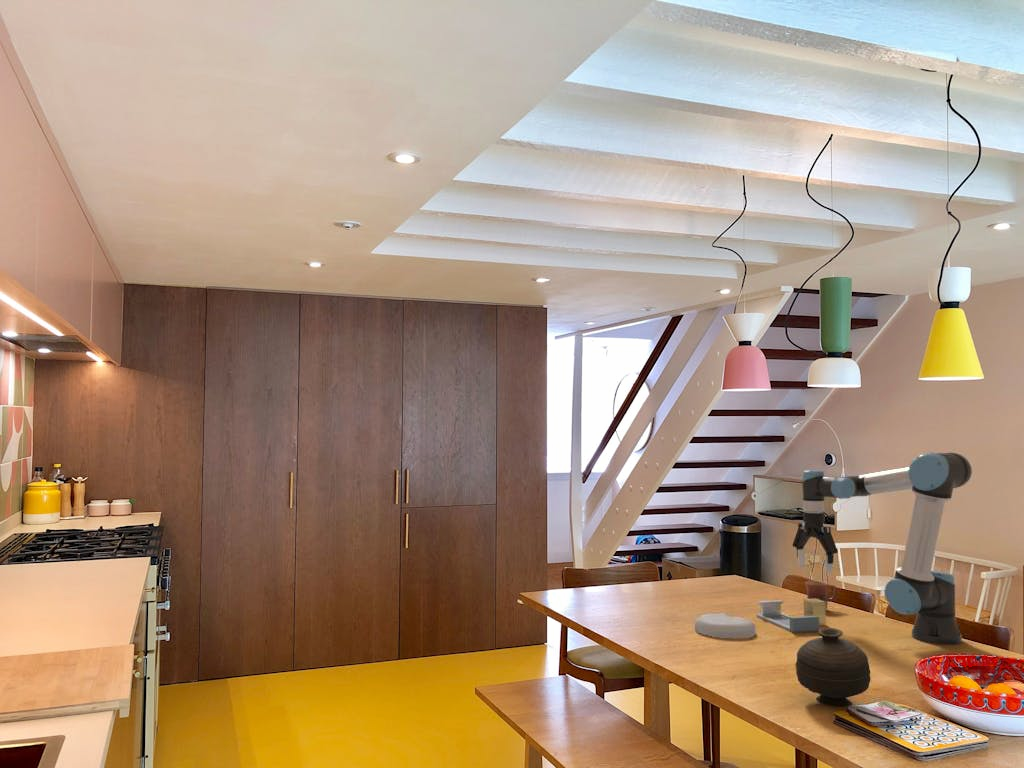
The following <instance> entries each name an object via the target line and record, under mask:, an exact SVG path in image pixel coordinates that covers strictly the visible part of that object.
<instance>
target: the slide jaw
mask: <svg viewBox="0 0 1024 768" xmlns="http://www.w3.org/2000/svg"><path fill="white" fill-rule="evenodd" d="M757 604H758V605H760V614H761V615H763V616H781V613H782V604H784V601H783V600H781V599H777V600H776V599H775V600H758V601H757Z"/></svg>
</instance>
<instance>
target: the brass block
mask: <svg viewBox="0 0 1024 768" xmlns="http://www.w3.org/2000/svg"><path fill="white" fill-rule="evenodd" d="M826 611H827V609H826V602H825V601H822V600H819V599H816V598H815V599H807V598H804V599H803V616H818V617H819V626H826V625H827V615H826V614H827V612H826Z"/></svg>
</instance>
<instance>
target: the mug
mask: <svg viewBox="0 0 1024 768" xmlns="http://www.w3.org/2000/svg"><path fill="white" fill-rule="evenodd" d="M804 583H805V586H806V593H807V597H806V599H815V598H816V599H819V600H822V601H825V602H826V610H827V609H828V603H829V602H831V601H832V602H833V601H834V600H835V599H836V598H837V596H838V595H837V594H838V588H837V587H836V585H833V584H829V583H828V582H826V581H821V580H820V581H817V580H808V581H805V582H804ZM831 588H833V589H834V590H833V591H834V593H833V596H832V597H828V590H829V589H831Z"/></svg>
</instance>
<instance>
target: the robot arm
mask: <svg viewBox="0 0 1024 768" xmlns="http://www.w3.org/2000/svg"><path fill="white" fill-rule="evenodd" d="M972 472H973V469H972V465H971V463H970V462H969V460H968V459H967V458H966V457H965V456H964V455H962V454H959V453H956V452H928V453H922V454H920V455H918V456H917V457H915V458H914V459H913V460H912V461H911V462H910V464H909V466H908V467H901V468H895V469H890V470H884V471H879V472H872V473H867V474H866V473H865V474H861V475H854V476H853V475H852V476H826V475H825V474H824V473H825V472H824V471H823V470H819V469H817V470H816V469H815V470H814V469H813V470H811V469H810V470H809V469H807V470H804V471H803V472H802V480H801V483H802V510H803V513H802V514H803V515H802V517H803V518H802V519H803V522H799V523H798V524H797V525H798V526H797V527H798V528H797V531H796V534H795V536H794V539H793V542H792V547H793V548H795V549H796V556H797V557H796V558H797V567H798V568H804V567H806V550H805V548H804V547H805V546H806V545H807V543H808V541H809V540H810V539H811V538H815V539H816V540H818V542H819V544H820V545H821V546H822V548H823V550H824V552H825V554H824V573H825V574H829V573H830V574H831V573H833V564H834V555H835V554H838V553H839V551H838V547H837V546H836V543H835V540H834V538H833V534H832V532H831V527H830V526H824V523H825V522H826V518H825V515H826V514H825V513H824V512H825V498H833V499H834V498H835V499H841V500H843V499H850V498H854V497H868V496H871V495H877V494H884V493H891V492H897V491H904V490H912V492H913V494H914V495H915V497H914V498H915V499H914V504H913V509H912V514H911V518H910V523H909V529H908V534H907V538H906V545H905V549H904V554H903V560H902V564H901V565H898V566H897V567H895V568H896V569H895V572H894V577H893V578H892V579H890V580H889V581H888V582H887V583H886V585H885V586H884V596H885V599H886V602H888V605H889V607H890V608H891V609H892V610H893V611H895V612H897V613H898V614H901V615H916V617H915V620H914V623H913V628H912V630H911V638H913V639H914V640H917V641H919V640H920V641H919V642H923V641H924V643H927V642H929V643H928V644H933V643H934V644H935V645H943V646H945V645H946V646H954V645H955V646H957V645H961V644H962V642H963V636H962V633H961V630H960V626H959V625H958V622H957V619H956V584H955V577H954V575H953V574H951V573H950V572H949V573H948V572H944V571H943V572H942V571H939V570H938V571H937V570H932V566H933V562H934V556H935V552H936V547H937V541H938V538H939V537H938V536H939V532H940V528H941V523H942V518H943V514H944V509H945V503H946V502H948V501H950V500H952V496H953V493H954V491H953V490H954V489H957V488H961V487H962V486H966V484H968V482H969V481H970V479H971V477H972Z"/></svg>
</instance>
